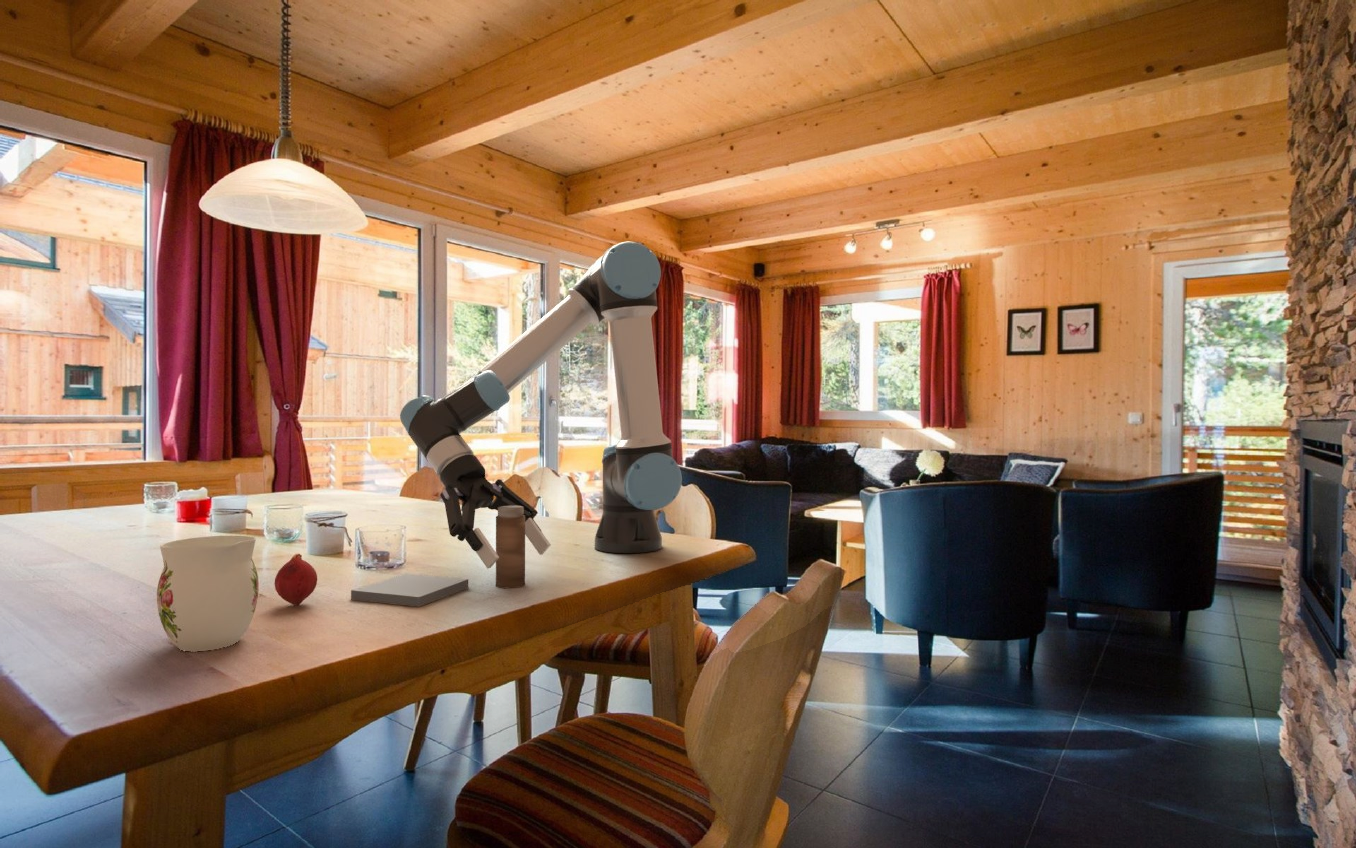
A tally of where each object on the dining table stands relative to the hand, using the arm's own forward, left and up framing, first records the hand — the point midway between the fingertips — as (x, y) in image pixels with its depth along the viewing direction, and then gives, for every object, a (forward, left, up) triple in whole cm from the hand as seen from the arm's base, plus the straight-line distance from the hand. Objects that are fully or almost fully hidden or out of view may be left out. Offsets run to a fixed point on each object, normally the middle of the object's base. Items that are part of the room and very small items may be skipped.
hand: (520, 556), depth 125 cm
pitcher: (+41, -22, -5) cm, 47 cm away
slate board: (+11, -14, -5) cm, 19 cm away
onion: (+23, -26, -5) cm, 35 cm away
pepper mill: (0, -2, -5) cm, 6 cm away
